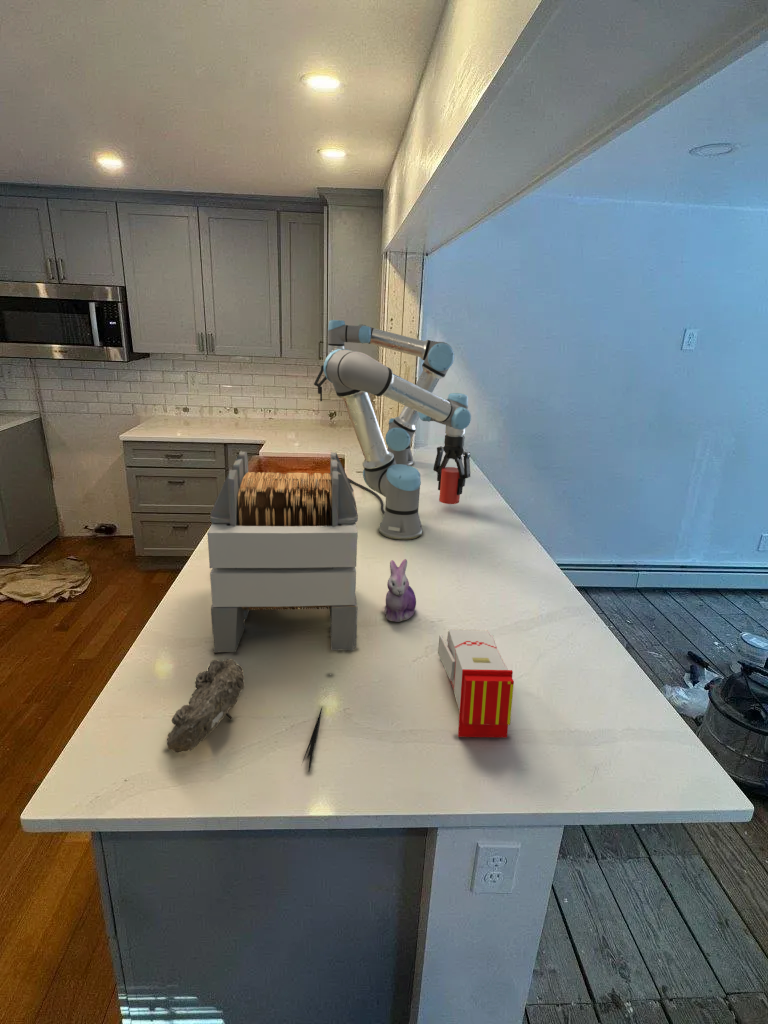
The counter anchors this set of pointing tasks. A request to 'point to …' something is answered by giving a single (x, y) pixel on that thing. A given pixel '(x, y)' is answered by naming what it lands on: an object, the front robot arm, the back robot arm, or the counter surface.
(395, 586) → the figurine
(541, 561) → the counter surface
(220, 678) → the grey rough elongated piece
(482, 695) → the toy
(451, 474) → the cylinder
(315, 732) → the feather
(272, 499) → the grey record crate stand
